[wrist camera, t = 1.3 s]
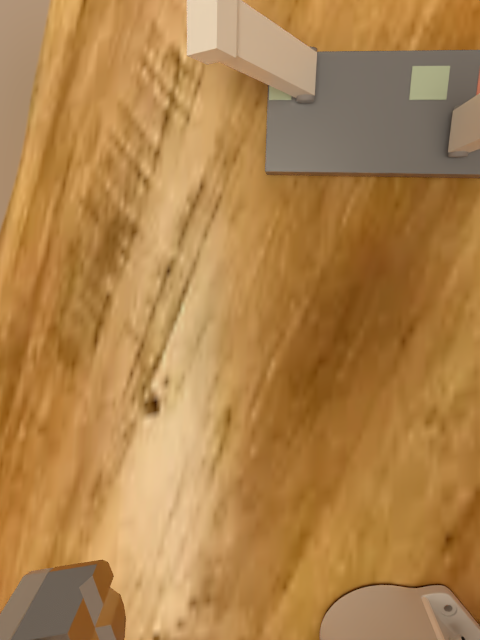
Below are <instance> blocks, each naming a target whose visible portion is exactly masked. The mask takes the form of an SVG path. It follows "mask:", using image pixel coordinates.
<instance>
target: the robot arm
mask: <svg viewBox="0 0 480 640" xmlns="http://www.w3.org/2000/svg"><path fill="white" fill-rule="evenodd" d="M113 577H114V576H113V573H112V571H111V568H110V566H109V563H108V562H107V561H104V560H98V561H91V562H85V563H78V564H72V565H65V566H59V567H55V568H48V569H42V570H36V571H31V572H29V573H28V574H26V575H25V576H24V577H23V578H22V580H21V581H20V583H19V585H18V586H17V588H16V589H15V591H14V593H13V594H12V596H11V598H10V599H9V601H8V602H7V604H6V606H5V607H4V609H3V611H2V612H1V614H0V640H124V638H125V624H126V616H125V610H124V604H123V601H122V598H121V595H120V594H119V593H117V592H116V591H114V590H113V589H112V588H110V585H111V582H112V580H113ZM446 605H448V606H446ZM320 640H480V625H479V624H478V623H477V622H476V621H475V619H474V618H473V617H472V616H471V615H470V613H469V612H468V611H467V610H466V609H465V607H464V606H463V605H462V604H461V603H460V601H459V600H458V599H457V598H456V596H455V595H454V594H453V593H452V592H451V590H450V589H449V588H447V587H445V586H442V585H432V586H426V587H420V588H407V587H401V586H394V585H375V586H369V587H364V588H361V589H358V590H355V591H353V592H350V593H348V594H347V595H345V596H343V597H342V598H340V599H339V600H338V601H337V602H335V603H334V604H333V605H332V607H331V608H330V609H329V610H328V612H327V613H326V615H325V617H324V619H323V621H322V624H321V628H320Z"/></svg>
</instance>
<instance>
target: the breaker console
mask: <svg viewBox="0 0 480 640" xmlns="http://www.w3.org/2000/svg"><path fill="white" fill-rule="evenodd" d="M479 93H480V50H433V51H342V52H317V64H316V82H315V97H314V102H312V103H298V102H296V98H295V97H293V96H291V95H288V94H286V93H284V92H282V91H280V90H278V89H276V88H274V87H271V86H269V85H268V107H267V135H266V164H265V172H266V174H267V175H312V176H377V177H441V178H480V149H478V150H475V151H472V152H470V153H468V157H463V158H449V157H448V154H449V152H448V147H449V138H450V130H451V122H452V113H453V110H454V107H455V106H458V105H462V104H464V103H465V102H467V101H468V100H470V99H472V98H473V97H475V96H476V95H478V94H479Z"/></svg>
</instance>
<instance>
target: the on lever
mask: <svg viewBox="0 0 480 640" xmlns="http://www.w3.org/2000/svg"><path fill="white" fill-rule="evenodd" d="M187 56H189V57H191V58H194V59H196V60H198V61H200V62H203V63H205V64H212V63H216V62H220V63H222V64H224V65H227V66H229V67H231V68H233V69H235V70H237V71H239V72H241V73H244V74H246V75H248V76H250V77H252V78H254V79H256V80H259V81H261V82H263V83H265V84H267V85H269V86H271V87H274V88H276V89H278V90H280V91H282V92H284V93H286V94H288V95H291V96H293V97H295V98H296V102H298V103H312V102H314V97H315V82H316V64H317V49H316V48H314V47H308V46H307V45H306V44H304V43H303V42H301V41H300V40H298V39H297V38H295V37H294V36H292V35H291V34H290V33H288V32H287V31H285V30H284V29H282V28H281V27H279V26H278V25H276V24H275V23H274V22H272V21H271V20H269V19H268V18H266V17H265V16H263V15H262V14H260V13H259V12H258V11H256V10H255V9H253V8H252V7H250V6H249V5H247V4H246V3H244V2H243V1H241V0H187Z"/></svg>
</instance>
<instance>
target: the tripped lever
mask: <svg viewBox="0 0 480 640" xmlns="http://www.w3.org/2000/svg"><path fill="white" fill-rule="evenodd" d="M478 149H480V93H479V94H478V95H476V96H475V97H473V98H472V99H470V100H468V101H467V102H465V103H464V104H462V105H458V106H455V107H454V110H453V113H452V122H451V130H450V138H449V147H448V152H449V154H448V157H449V158H463V157H468V153H470V152H472V151H475V150H478Z"/></svg>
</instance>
